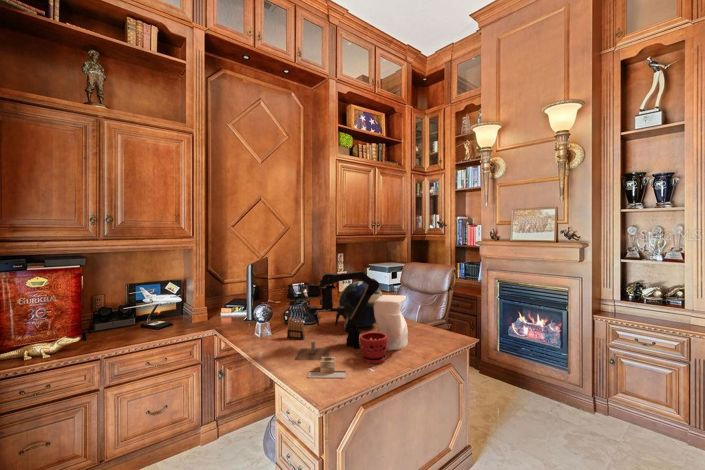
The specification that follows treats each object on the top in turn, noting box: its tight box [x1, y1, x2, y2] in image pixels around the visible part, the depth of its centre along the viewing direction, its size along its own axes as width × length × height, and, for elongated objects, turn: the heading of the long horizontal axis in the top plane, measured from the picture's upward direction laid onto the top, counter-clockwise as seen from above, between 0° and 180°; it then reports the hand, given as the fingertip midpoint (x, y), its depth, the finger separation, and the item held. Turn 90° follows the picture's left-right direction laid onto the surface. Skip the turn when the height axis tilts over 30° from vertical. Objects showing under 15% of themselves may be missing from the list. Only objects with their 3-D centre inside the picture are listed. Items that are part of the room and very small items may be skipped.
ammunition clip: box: [286, 317, 305, 341], centre depth 192 cm, size 11×2×12 cm, turn 69°
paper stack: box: [374, 294, 409, 351], centre depth 179 cm, size 21×27×26 cm
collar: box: [319, 356, 336, 373], centre depth 147 cm, size 6×6×5 cm
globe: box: [338, 280, 384, 328], centre depth 217 cm, size 30×30×30 cm
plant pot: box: [359, 331, 387, 364], centre depth 160 cm, size 13×13×12 cm
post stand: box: [294, 341, 331, 361], centre depth 165 cm, size 16×16×7 cm
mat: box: [307, 370, 347, 379], centre depth 147 cm, size 16×14×1 cm
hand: (327, 326), depth 176 cm, fingers open, 9 cm apart
